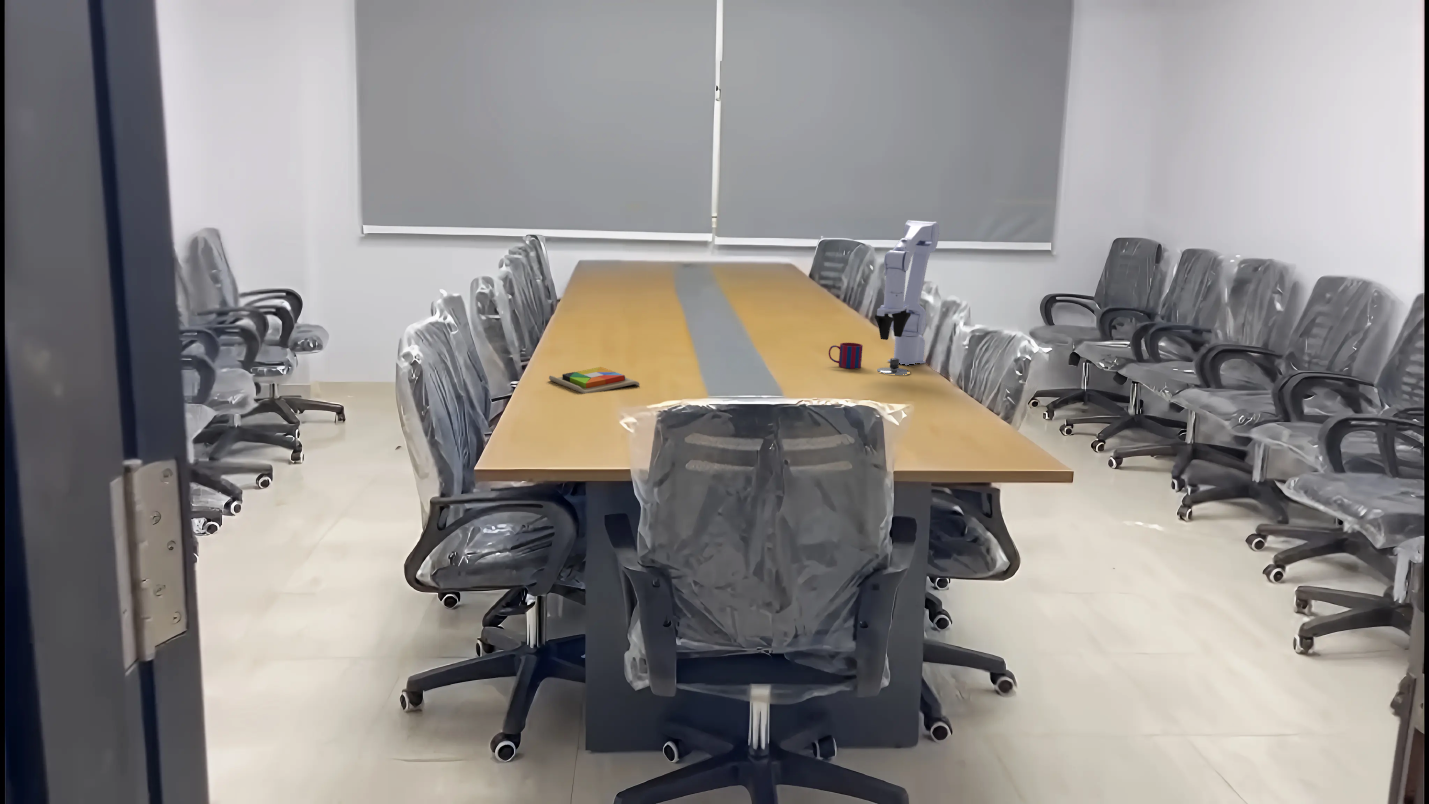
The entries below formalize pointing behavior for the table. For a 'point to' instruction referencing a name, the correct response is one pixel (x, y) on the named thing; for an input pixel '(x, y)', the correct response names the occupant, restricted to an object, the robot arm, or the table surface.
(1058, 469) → the table surface
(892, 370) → the lid
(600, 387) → the wooden puzzle
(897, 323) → the robot arm
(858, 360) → the mug
